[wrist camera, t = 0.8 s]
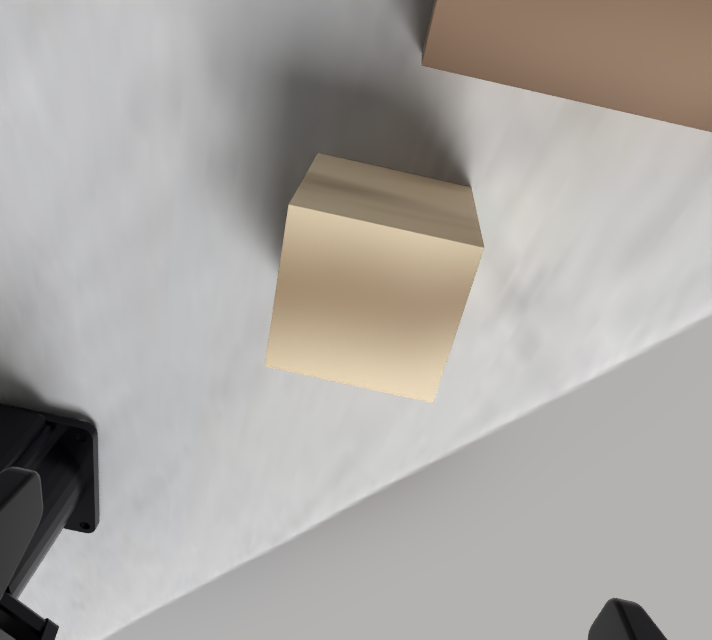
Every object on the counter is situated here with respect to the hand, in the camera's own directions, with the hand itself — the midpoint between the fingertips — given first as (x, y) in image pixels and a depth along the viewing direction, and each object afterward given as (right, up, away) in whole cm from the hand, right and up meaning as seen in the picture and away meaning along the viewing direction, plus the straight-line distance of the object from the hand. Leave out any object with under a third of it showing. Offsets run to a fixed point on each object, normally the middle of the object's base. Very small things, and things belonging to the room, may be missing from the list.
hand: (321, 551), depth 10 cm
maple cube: (+1, +6, +11) cm, 13 cm away
